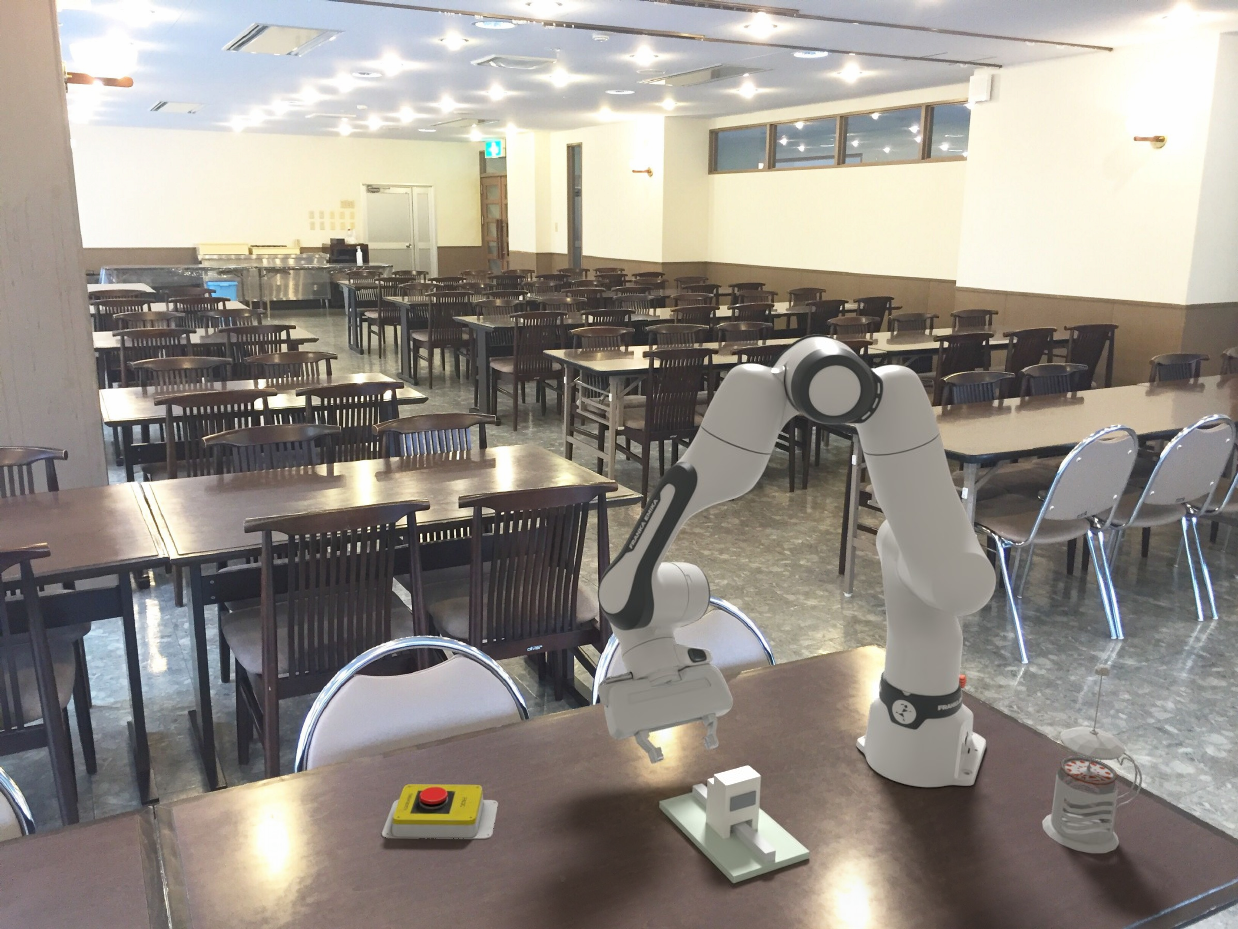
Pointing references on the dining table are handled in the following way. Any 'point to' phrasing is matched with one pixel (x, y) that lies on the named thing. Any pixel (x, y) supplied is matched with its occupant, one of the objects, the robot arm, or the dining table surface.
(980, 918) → the dining table surface
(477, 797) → the emergency button
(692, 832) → the rail board
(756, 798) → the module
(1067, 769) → the french press
